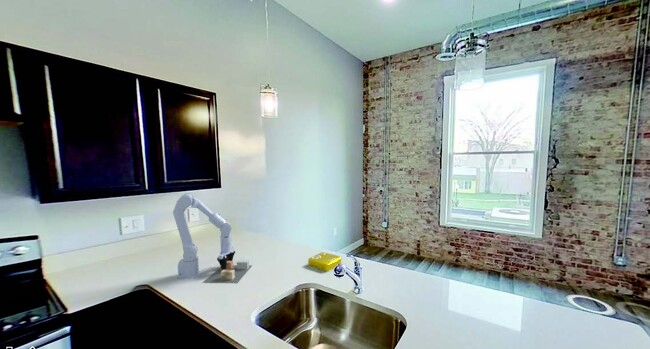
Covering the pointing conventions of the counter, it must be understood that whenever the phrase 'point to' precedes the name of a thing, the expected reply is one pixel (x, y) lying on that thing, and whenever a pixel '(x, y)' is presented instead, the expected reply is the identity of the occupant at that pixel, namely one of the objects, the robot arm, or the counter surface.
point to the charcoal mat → (217, 279)
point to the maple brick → (227, 274)
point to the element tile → (324, 261)
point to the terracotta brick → (229, 265)
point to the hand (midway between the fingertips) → (226, 267)
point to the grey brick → (243, 264)
